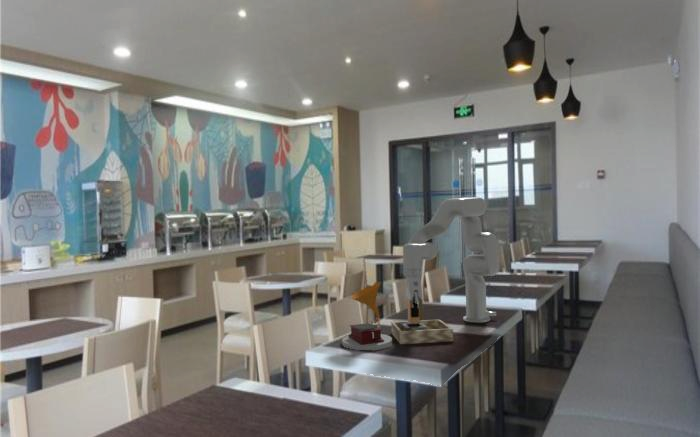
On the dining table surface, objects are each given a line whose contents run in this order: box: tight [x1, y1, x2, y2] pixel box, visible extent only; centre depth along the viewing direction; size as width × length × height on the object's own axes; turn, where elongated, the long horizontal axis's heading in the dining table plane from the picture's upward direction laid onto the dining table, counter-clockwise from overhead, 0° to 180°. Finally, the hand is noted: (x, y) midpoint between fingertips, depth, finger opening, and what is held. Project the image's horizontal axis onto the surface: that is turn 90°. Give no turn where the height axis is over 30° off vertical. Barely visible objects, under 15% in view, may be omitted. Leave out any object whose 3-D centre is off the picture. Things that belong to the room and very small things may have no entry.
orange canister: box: [406, 297, 420, 323], centre depth 206 cm, size 4×4×11 cm
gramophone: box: [341, 281, 393, 351], centre depth 199 cm, size 20×20×25 cm
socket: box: [401, 322, 427, 331], centre depth 206 cm, size 9×9×4 cm
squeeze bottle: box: [406, 299, 425, 321], centre depth 232 cm, size 8×8×18 cm
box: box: [390, 319, 454, 345], centre depth 207 cm, size 22×18×5 cm
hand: (413, 315), depth 206 cm, fingers closed on orange canister, 4 cm apart
